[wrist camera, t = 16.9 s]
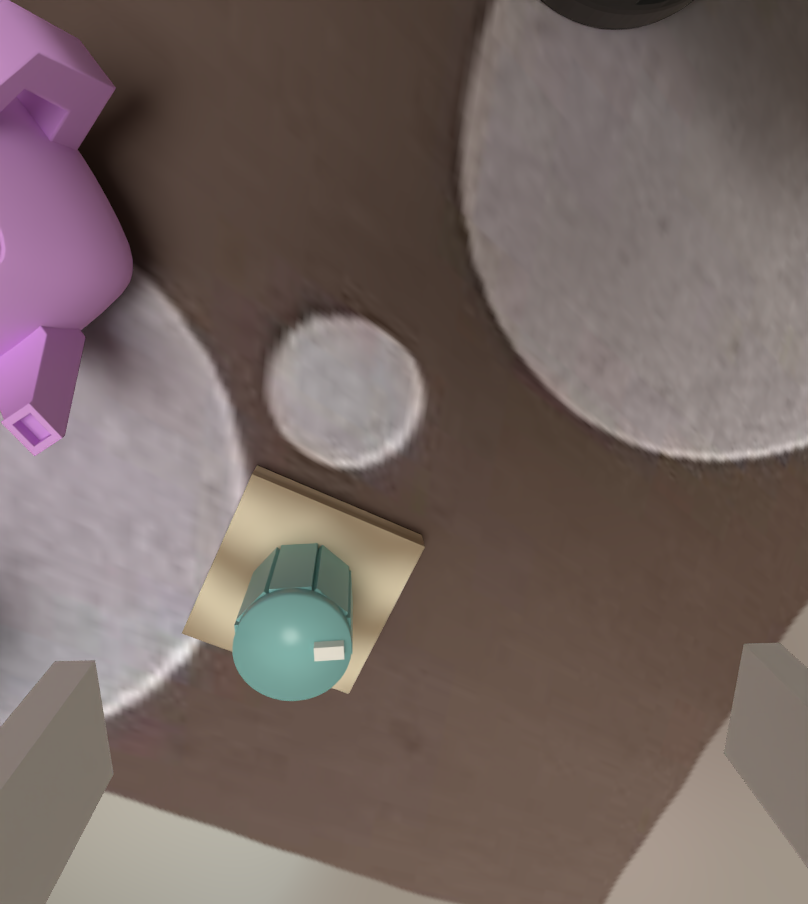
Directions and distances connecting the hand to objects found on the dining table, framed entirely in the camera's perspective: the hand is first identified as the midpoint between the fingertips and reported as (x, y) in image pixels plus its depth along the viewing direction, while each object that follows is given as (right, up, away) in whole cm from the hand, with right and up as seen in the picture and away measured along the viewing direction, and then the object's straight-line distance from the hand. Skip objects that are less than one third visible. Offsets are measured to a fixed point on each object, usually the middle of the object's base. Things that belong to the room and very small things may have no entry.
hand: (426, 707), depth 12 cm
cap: (-7, -4, +27) cm, 28 cm away
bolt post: (-7, -3, +29) cm, 30 cm away
